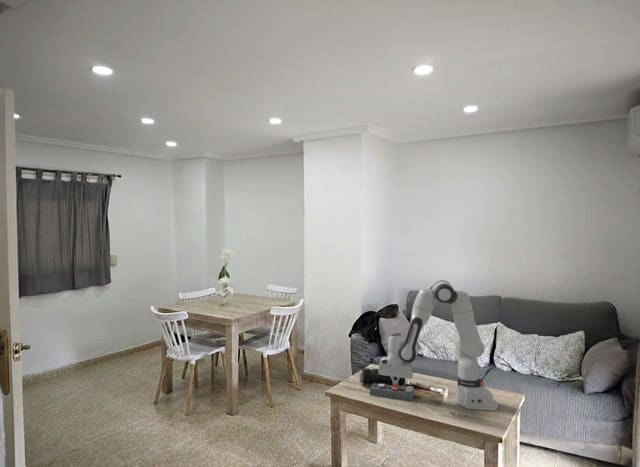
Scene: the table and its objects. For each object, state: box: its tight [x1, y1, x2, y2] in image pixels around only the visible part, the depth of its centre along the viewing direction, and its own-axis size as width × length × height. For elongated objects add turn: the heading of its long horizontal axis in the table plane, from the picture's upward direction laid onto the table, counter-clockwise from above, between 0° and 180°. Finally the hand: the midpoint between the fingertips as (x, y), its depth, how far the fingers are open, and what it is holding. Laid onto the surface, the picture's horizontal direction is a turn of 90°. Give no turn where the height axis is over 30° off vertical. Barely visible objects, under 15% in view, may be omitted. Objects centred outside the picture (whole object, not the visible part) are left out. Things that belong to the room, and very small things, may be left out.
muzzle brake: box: [358, 367, 406, 386], centre depth 262 cm, size 10×28×10 cm, turn 89°
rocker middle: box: [391, 384, 400, 390], centre depth 245 cm, size 3×5×1 cm, turn 158°
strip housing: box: [369, 383, 416, 402], centre depth 245 cm, size 25×9×4 cm, turn 68°
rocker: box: [406, 385, 414, 392], centre depth 242 cm, size 3×5×1 cm, turn 158°
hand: (395, 383), depth 246 cm, fingers closed
